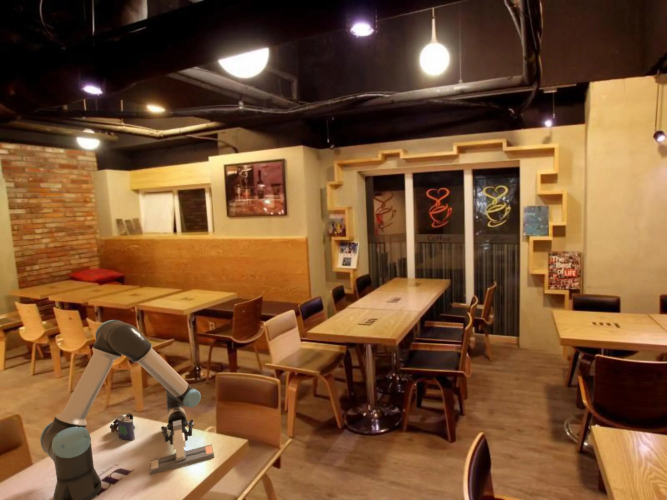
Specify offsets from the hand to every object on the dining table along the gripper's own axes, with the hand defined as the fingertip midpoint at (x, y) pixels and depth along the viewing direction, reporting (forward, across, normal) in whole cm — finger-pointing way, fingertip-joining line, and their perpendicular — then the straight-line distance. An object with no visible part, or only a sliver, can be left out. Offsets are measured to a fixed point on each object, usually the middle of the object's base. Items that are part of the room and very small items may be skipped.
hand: (179, 444), depth 165 cm
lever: (-5, 0, -8) cm, 9 cm away
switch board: (-5, -1, -10) cm, 11 cm away
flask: (-36, +22, -10) cm, 44 cm away
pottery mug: (-45, +24, -10) cm, 52 cm away
